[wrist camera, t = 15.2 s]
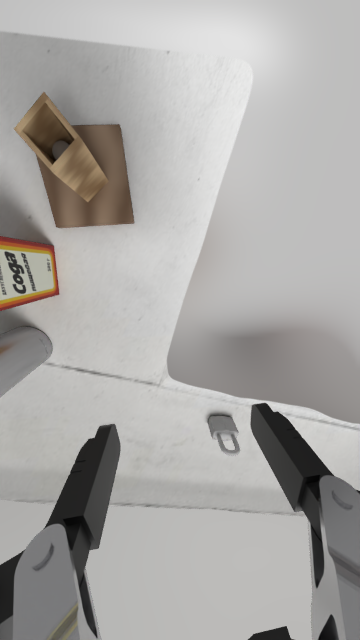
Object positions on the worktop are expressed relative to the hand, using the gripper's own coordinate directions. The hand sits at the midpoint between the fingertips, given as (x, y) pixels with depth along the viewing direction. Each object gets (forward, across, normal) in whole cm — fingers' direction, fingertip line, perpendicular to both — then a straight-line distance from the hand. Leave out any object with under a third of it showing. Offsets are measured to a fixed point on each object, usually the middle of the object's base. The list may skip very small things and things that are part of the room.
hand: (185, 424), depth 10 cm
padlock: (+30, -12, +37) cm, 49 cm away
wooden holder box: (+29, +12, -24) cm, 40 cm away
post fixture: (+30, +12, -24) cm, 40 cm away
